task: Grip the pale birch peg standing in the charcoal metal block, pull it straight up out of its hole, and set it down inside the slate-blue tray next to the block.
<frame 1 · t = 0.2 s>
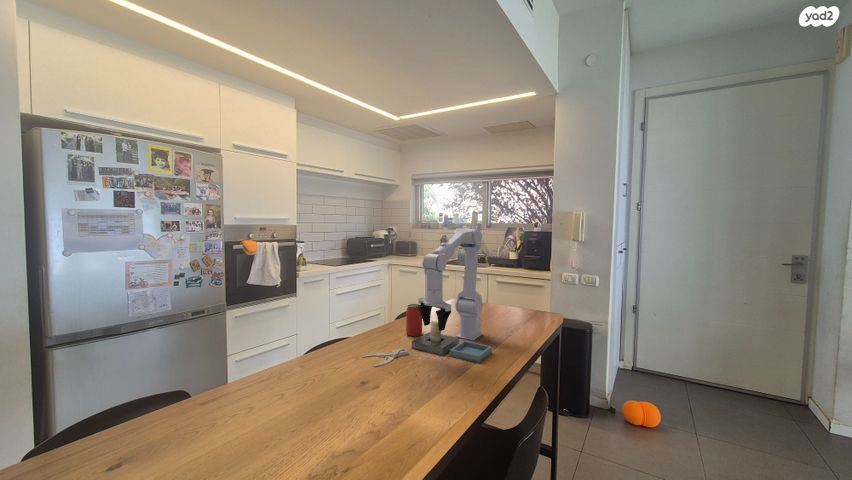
hand: (434, 327, 119), 10 cm above the table, tool pointing down, fingers open, 7 cm apart
hitch block: (435, 346, 129), on the table
slate tray: (471, 354, 121), on the table
pliers: (387, 358, 118), on the table
birch peg: (435, 334, 129), in the hitch block
beer can: (414, 334, 143), on the table
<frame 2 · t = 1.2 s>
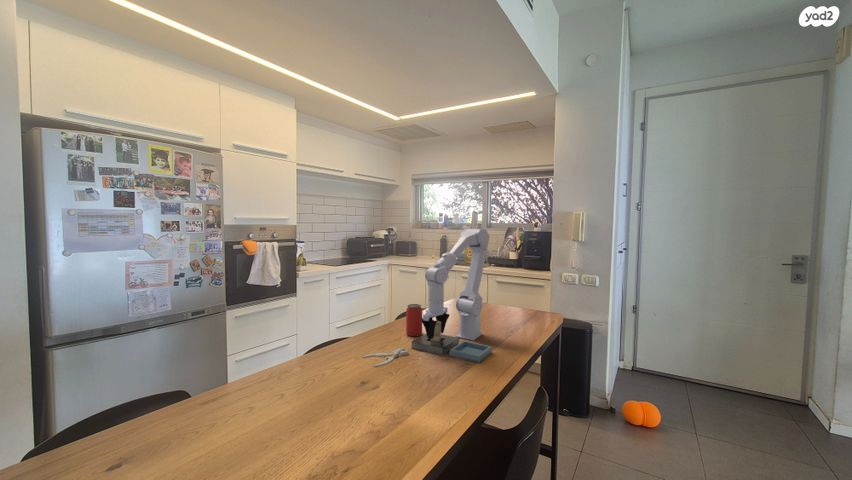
hand: (435, 335, 129), 4 cm above the table, tool pointing down, fingers open, 7 cm apart
nothing on the table moved.
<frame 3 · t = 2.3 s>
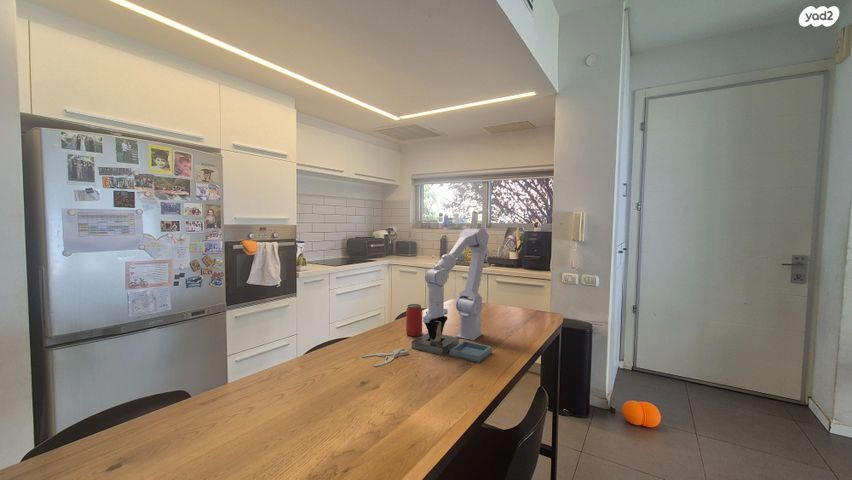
hand: (435, 337, 129), 3 cm above the table, tool pointing down, fingers closed on birch peg, 4 cm apart
birch peg: (435, 334, 129), in the hitch block, touching gripper
everything else where it was.
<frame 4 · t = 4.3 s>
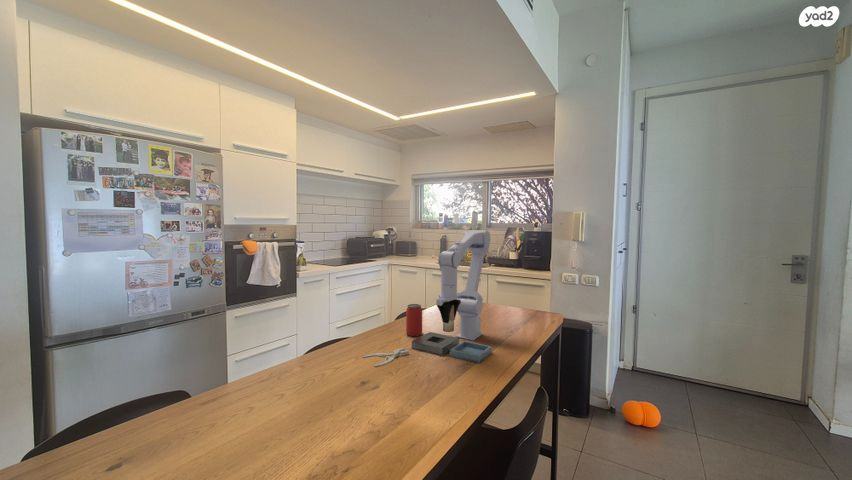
hand: (448, 321, 126), 10 cm above the table, tool pointing down, fingers closed on birch peg, 4 cm apart
birch peg: (448, 318, 126), point 11 cm above the table, touching gripper
everything else where it was.
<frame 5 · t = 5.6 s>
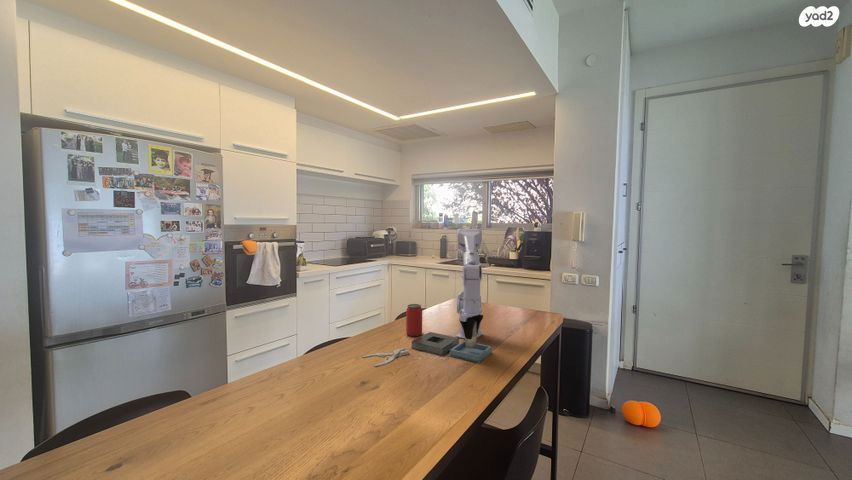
hand: (471, 336, 121), 6 cm above the table, tool pointing down, fingers closed on birch peg, 4 cm apart
birch peg: (470, 333, 121), point 7 cm above the table, touching gripper
everything else where it was.
when the fingers open (6 cm above the table, at t = 6.6 s): birch peg drops 1 cm, resting on slate tray.
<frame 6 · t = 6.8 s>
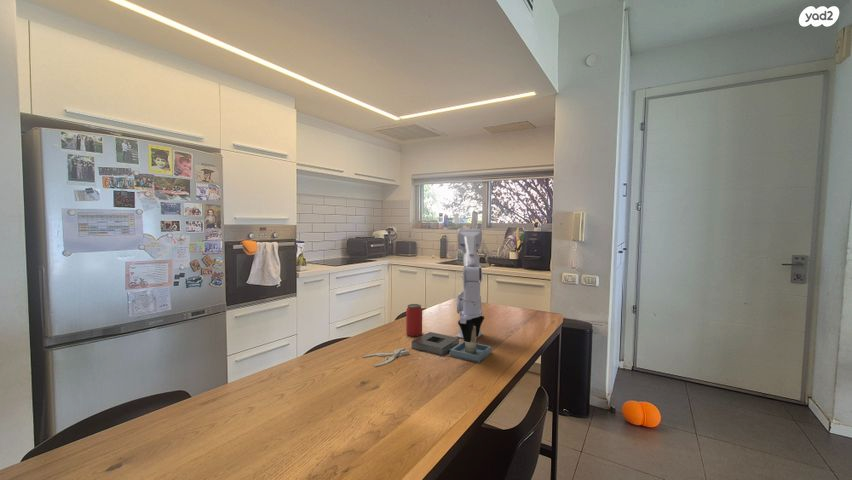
hand: (471, 338, 121), 6 cm above the table, tool pointing down, fingers open, 6 cm apart
birch peg: (470, 339, 121), in the slate tray, point 5 cm above the table
everything else where it was.
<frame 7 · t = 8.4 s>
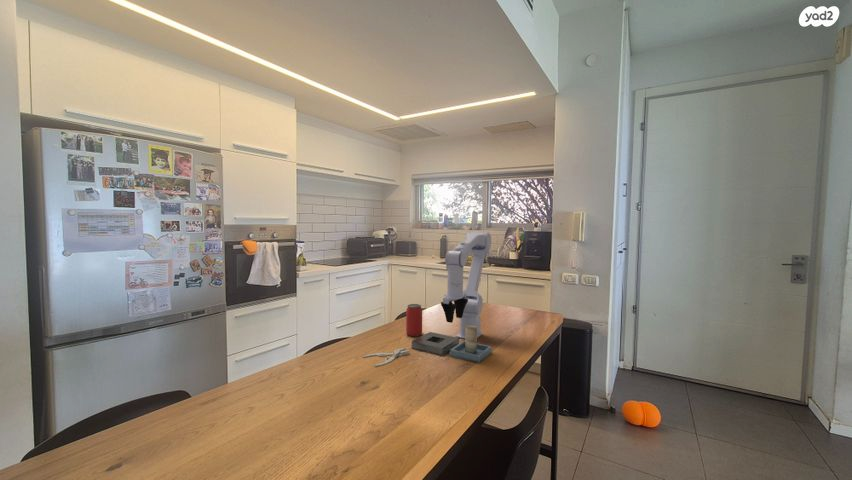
hand: (454, 319, 127), 10 cm above the table, tool pointing down, fingers open, 7 cm apart
nothing on the table moved.
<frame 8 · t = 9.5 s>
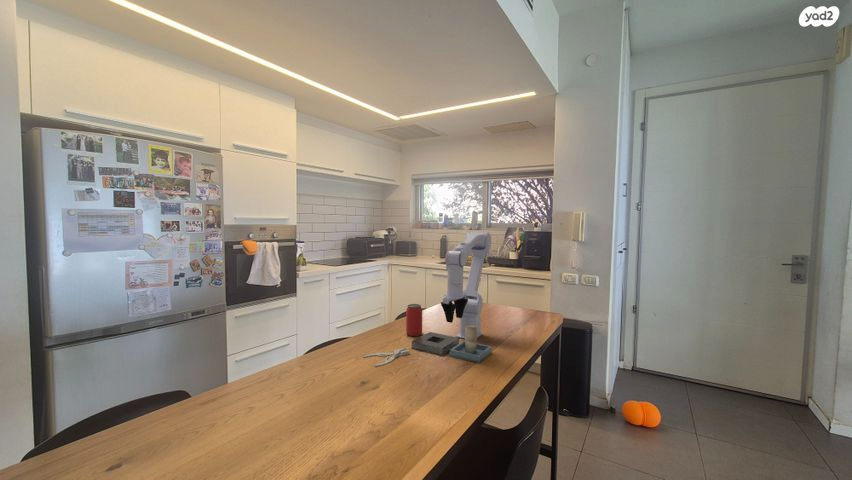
hand: (454, 319, 127), 10 cm above the table, tool pointing down, fingers open, 7 cm apart
nothing on the table moved.
at the end: birch peg inside the target area on the slate tray (0.1 cm from its centre), point 5.1 cm above the slate tray's base; birch peg moved 14.4 cm from its start; the gripper is holding nothing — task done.
